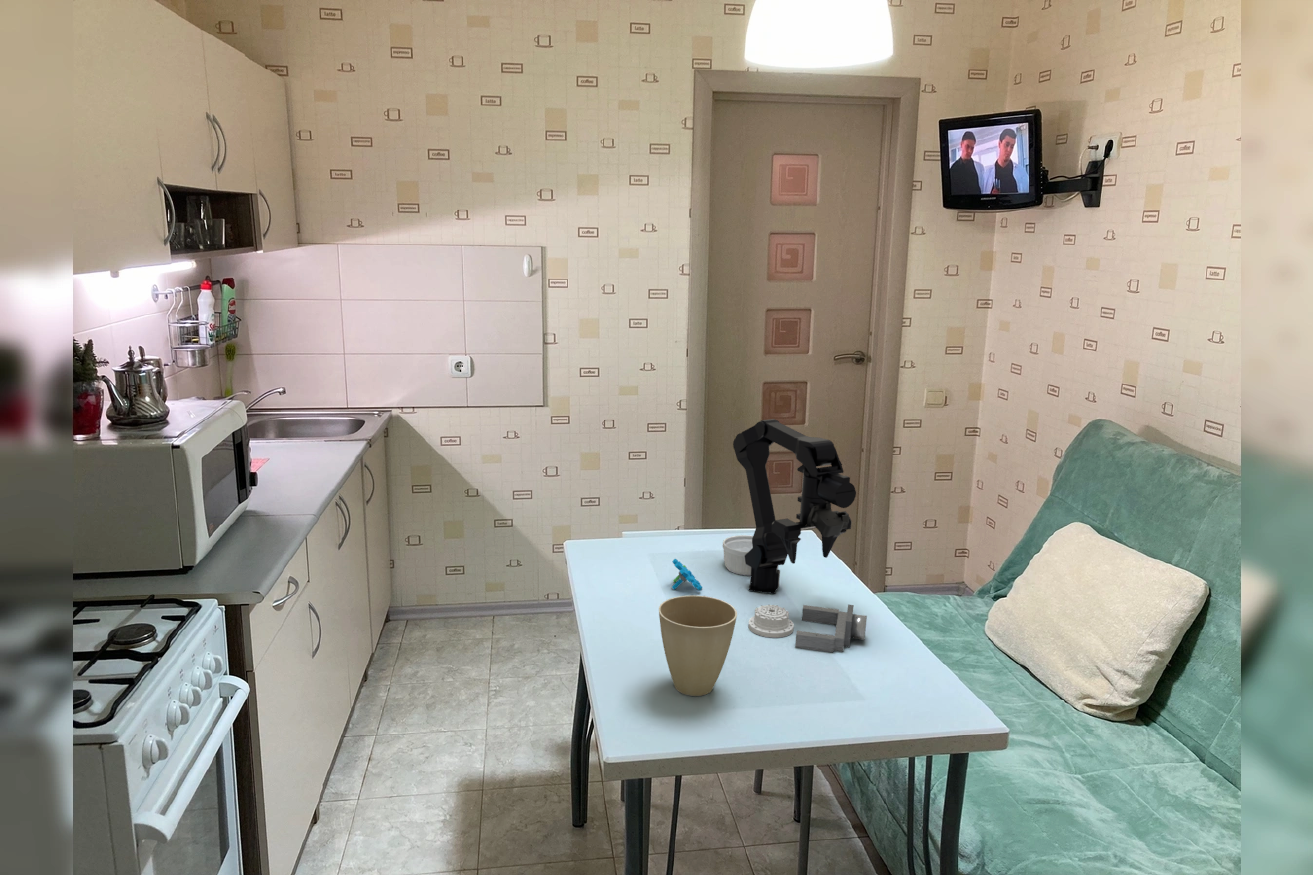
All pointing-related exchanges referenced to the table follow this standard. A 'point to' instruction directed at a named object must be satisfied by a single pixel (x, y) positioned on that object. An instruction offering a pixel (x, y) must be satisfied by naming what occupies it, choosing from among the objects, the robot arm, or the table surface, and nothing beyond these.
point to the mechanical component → (771, 622)
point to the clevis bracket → (844, 621)
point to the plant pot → (696, 640)
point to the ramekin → (737, 553)
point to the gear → (684, 576)
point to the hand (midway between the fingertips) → (809, 560)
